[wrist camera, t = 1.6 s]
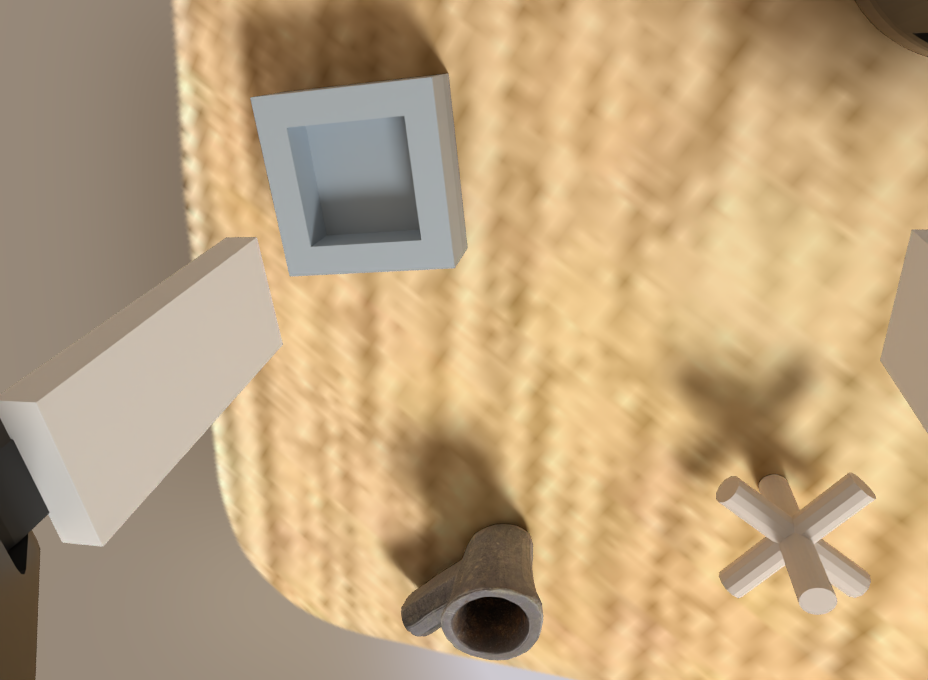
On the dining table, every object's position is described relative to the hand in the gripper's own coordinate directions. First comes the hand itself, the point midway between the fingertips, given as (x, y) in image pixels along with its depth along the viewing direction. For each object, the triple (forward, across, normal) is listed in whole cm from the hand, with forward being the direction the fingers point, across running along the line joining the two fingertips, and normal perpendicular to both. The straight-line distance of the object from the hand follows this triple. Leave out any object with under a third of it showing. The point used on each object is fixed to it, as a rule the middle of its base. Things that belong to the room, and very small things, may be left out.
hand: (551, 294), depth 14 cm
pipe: (+23, +8, +33) cm, 41 cm away
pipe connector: (+24, -12, +25) cm, 37 cm away
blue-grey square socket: (+25, +13, +4) cm, 28 cm away
